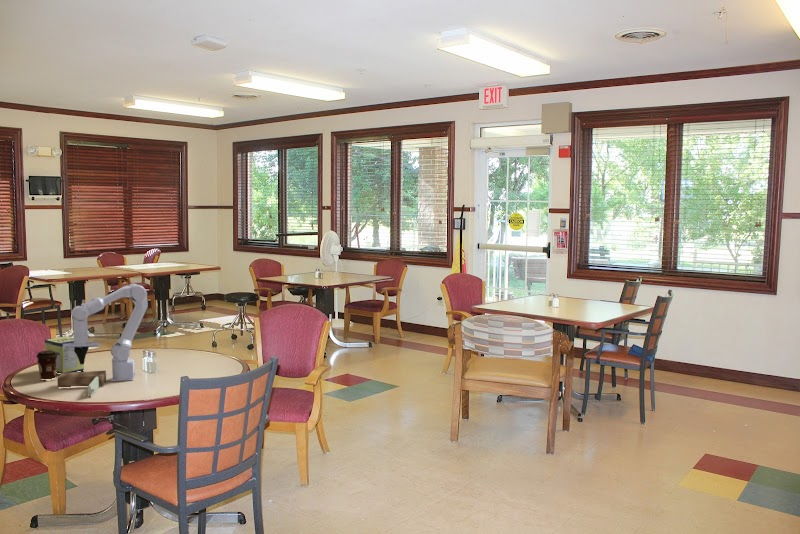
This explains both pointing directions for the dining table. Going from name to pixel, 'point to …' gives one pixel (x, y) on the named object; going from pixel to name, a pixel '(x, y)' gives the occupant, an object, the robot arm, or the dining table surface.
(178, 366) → the dining table surface
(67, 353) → the protein box
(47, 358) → the coffee cup
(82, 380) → the walnut box
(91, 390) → the pale green bar
